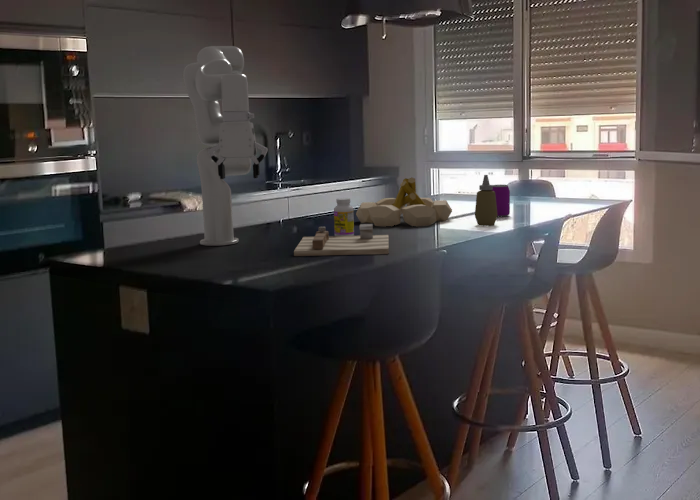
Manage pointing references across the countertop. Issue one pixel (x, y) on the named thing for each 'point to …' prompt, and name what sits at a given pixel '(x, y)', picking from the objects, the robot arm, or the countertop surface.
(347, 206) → the supplement bottle
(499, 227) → the countertop surface
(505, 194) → the beverage can
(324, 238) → the link
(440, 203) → the campfire
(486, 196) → the squeeze bottle
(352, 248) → the hinge board
